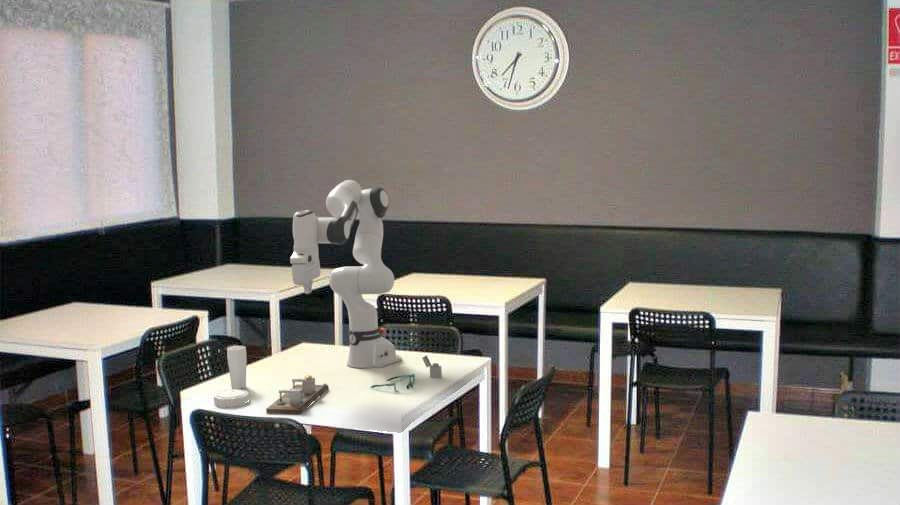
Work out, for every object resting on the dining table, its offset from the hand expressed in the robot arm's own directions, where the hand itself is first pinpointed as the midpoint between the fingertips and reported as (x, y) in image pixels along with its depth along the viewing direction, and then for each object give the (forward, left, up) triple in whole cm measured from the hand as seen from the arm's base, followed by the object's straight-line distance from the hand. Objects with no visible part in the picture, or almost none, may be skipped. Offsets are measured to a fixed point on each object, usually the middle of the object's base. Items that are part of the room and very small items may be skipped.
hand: (308, 293), depth 360 cm
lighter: (-35, +27, -34) cm, 56 cm away
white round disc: (+32, -4, -35) cm, 47 cm away
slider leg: (+12, +11, -32) cm, 36 cm away
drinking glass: (+20, -18, -34) cm, 44 cm away
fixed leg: (+15, +14, -33) cm, 39 cm away
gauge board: (+16, +13, -34) cm, 40 cm away
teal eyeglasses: (-18, +25, -35) cm, 46 cm away
